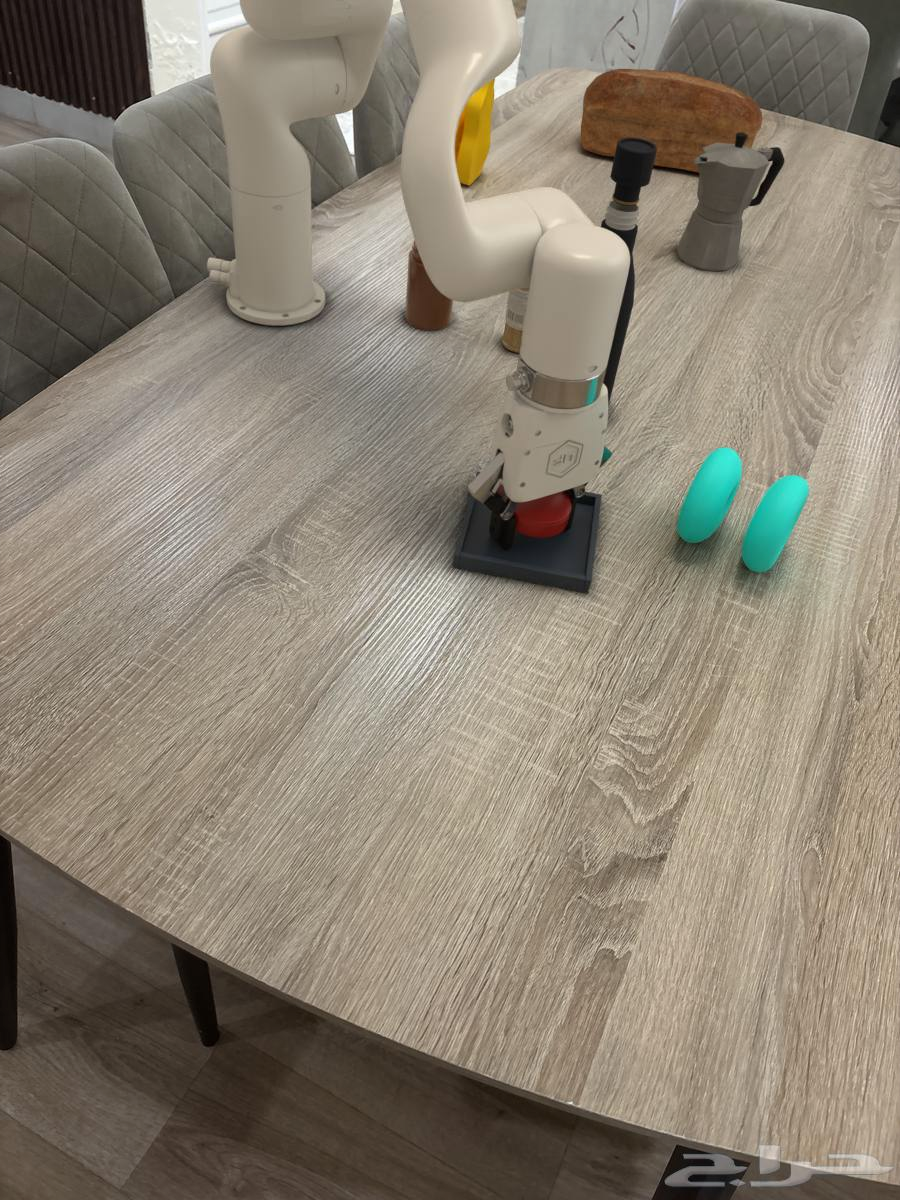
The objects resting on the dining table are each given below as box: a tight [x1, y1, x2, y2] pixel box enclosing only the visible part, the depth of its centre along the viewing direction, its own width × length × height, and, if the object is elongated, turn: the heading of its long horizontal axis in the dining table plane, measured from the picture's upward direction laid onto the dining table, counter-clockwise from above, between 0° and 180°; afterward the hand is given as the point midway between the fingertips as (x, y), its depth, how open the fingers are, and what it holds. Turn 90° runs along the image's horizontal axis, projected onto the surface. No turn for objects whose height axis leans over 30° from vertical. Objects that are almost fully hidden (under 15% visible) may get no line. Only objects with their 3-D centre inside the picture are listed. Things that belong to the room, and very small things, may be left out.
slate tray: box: [452, 471, 603, 594], centre depth 94 cm, size 13×13×2 cm
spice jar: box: [501, 287, 530, 354], centre depth 115 cm, size 5×5×13 cm
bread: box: [580, 68, 763, 174], centre depth 164 cm, size 12×31×14 cm, turn 75°
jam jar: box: [404, 239, 454, 331], centre depth 119 cm, size 6×6×10 cm
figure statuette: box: [455, 78, 496, 186], centre depth 147 cm, size 18×8×22 cm, turn 159°
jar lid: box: [505, 491, 571, 537], centre depth 91 cm, size 6×6×2 cm
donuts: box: [676, 446, 810, 573], centre depth 92 cm, size 10×10×10 cm
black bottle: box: [600, 138, 657, 407], centre depth 100 cm, size 6×6×30 cm
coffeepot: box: [676, 132, 785, 272], centre depth 136 cm, size 15×9×18 cm, turn 113°
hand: (530, 530), depth 94 cm, fingers closed on jar lid, 6 cm apart
